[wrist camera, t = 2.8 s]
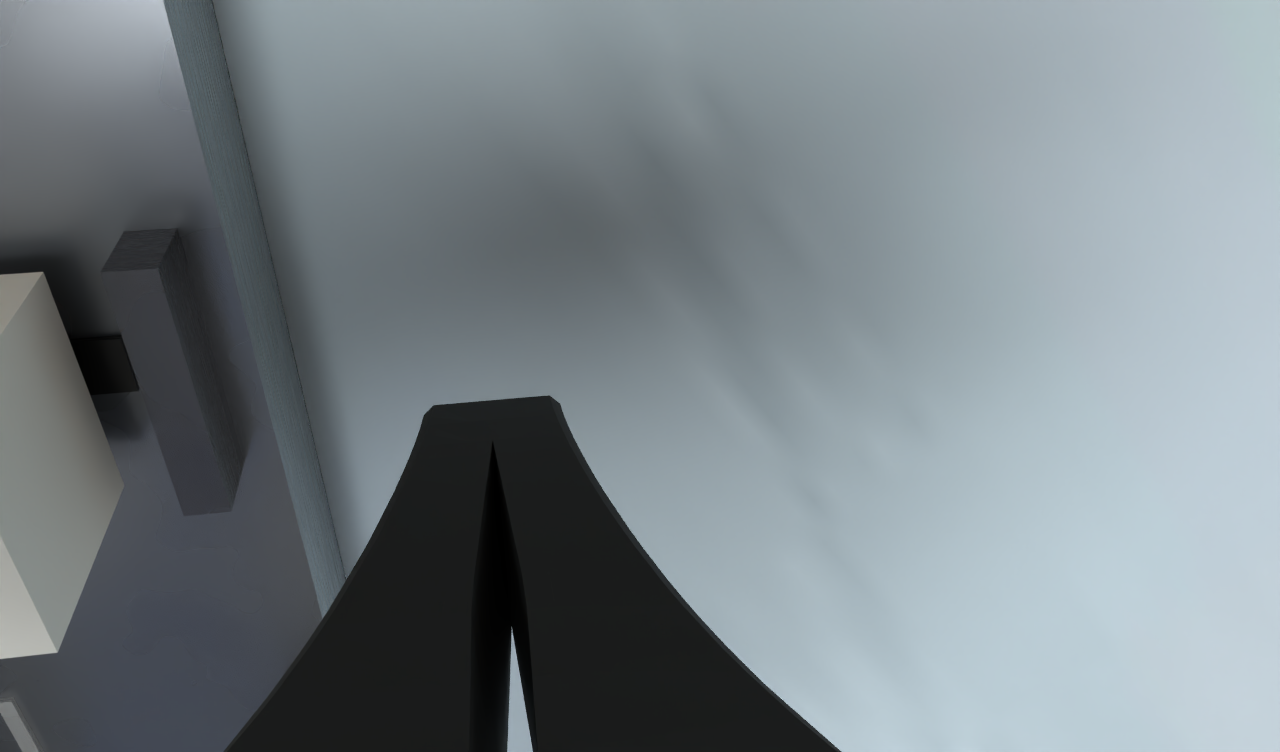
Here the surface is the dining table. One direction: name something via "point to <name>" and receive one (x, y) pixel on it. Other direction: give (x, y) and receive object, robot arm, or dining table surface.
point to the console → (161, 380)
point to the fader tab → (46, 472)
